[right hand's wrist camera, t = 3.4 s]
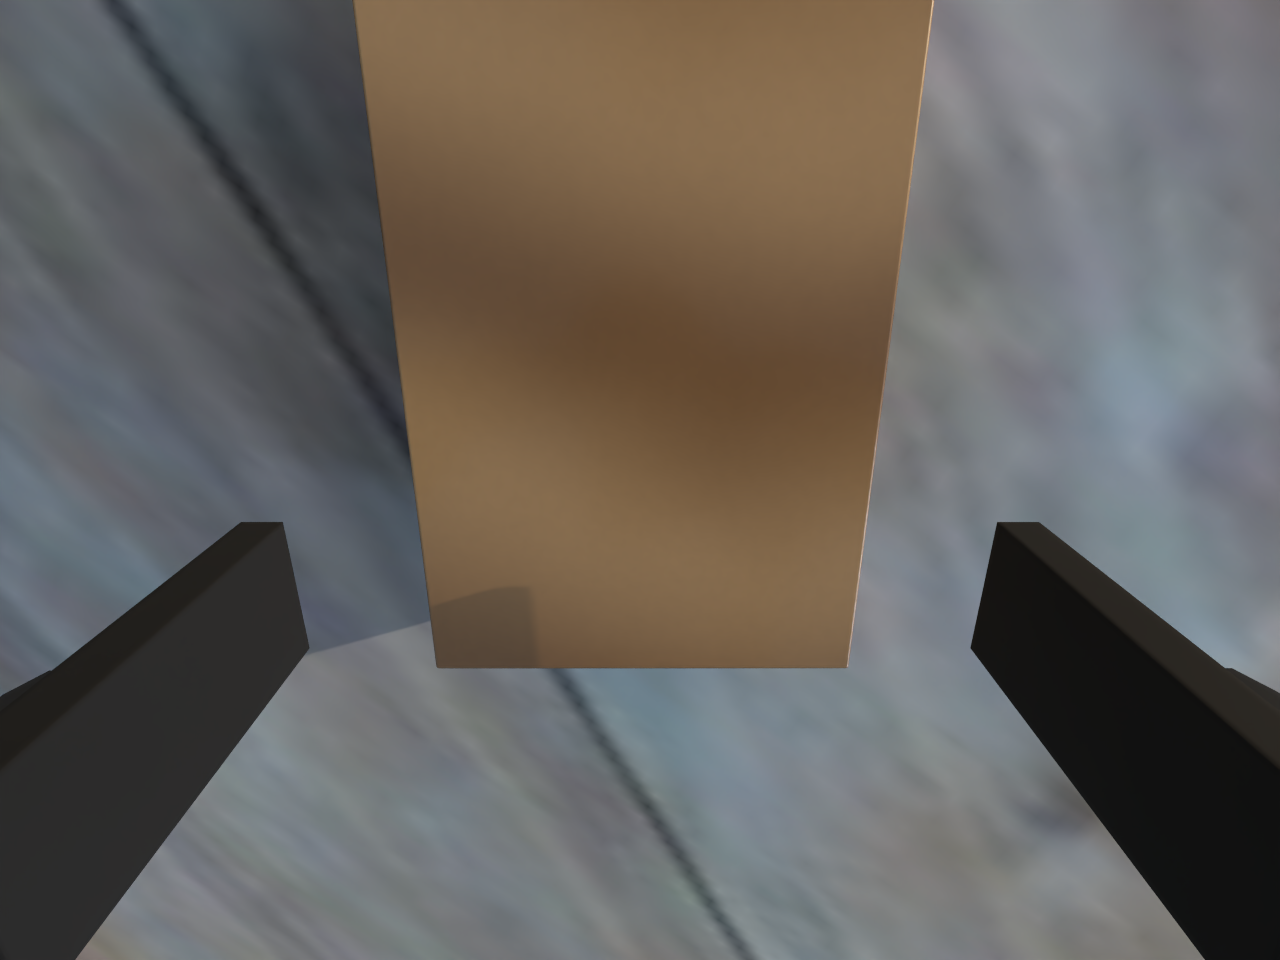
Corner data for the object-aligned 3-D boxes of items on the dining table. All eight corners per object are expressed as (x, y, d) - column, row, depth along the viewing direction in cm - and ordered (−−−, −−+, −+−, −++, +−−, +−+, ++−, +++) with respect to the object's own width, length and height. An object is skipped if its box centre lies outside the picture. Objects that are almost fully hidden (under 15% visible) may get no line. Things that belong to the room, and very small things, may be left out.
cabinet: (454, -63, 19) (316, -274, 11) (829, -63, 19) (971, -273, 11) (501, 525, 25) (435, 669, 17) (781, 525, 25) (849, 669, 17)
